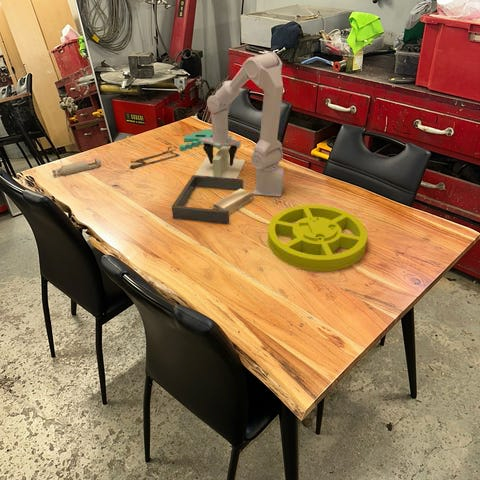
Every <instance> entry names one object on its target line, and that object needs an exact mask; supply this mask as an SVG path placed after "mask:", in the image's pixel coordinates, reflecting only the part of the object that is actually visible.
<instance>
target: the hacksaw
mask: <svg viewBox="0 0 480 480" xmlns="http://www.w3.org/2000/svg"><path fill="white" fill-rule="evenodd" d="M170 148H171V146H168V147H167V150H166V151H162V152H161V153H158V154H154V155H152V156H151V155H150V156H146V157H142V158H139V159H136V160H135V158H134V159H132V160H130V162H131V163H137V164H132V165H130V166H129V169H132V170H135V169H137V168H141V167H145V166H148V165H150V164H154V163H157V162H160V161H164V160H169V159H173V158H176V157H180V154H179V153H177V152H173V151H175V150H177V149H178V147H177V146H174V150H170ZM169 153H170V154H172V156H169V157H165V158H161V159H157V160H153V161H149V162H146V160H149V159H153V158H158V157H160V156H163V155H166V154H169ZM133 160H134V161H133ZM138 163H139V164H138Z"/></svg>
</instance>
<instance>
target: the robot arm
mask: <svg viewBox="0 0 480 480" xmlns="http://www.w3.org/2000/svg"><path fill="white" fill-rule="evenodd" d="M282 68H283V62H282V60H281V58H280V57H279V56H278V54H276V53H275V52H273V51H268V52H266V53H264V54H260V55H256V56H250V57H247V59H246V60H245V61H244V62H242V67H240V69H239V71H238V72H237V73H236V75H234V77H233V79H232V80H225V81H223V82H222V83H221V87H219V89H216V91H215V94H214V95H209V96H208V98H207V101H206V106H207V109H208V111H209V112H210V117H211V119H210V120H211V129H212V137H213V138H202V139H201V145H200V146H203V147H202V149H203V151H204V152H205V154H206V157H208V158H209V161H210V164H212V163H213V160H212V159H213V158H214V157H215V156H214V147H213V145H215V146H219V147H220V146H228V149H229V159H230V166H232V165H233V161H234V159H235V156H236V153H237V150H238V149H240V147H241V144H242V143H241V140H235V139H233V138H232V139H229V138H228V135H229V121H228V120H229V119H228V115H229V113H230V112H229V111H230V108H231V106H232V102H234V101H235V99H236V98H237V97H238V96H239V95H240V91H241V88H242V87H243V86H244V85H245V84H246V83H247V82H248V81H249V80H251V81H252V82H253V84H255V85H256V86H257V87H258V88H259V89H261V90H262V91H263V100H262V113H261V123H260V124H261V125H260V134H259V140H258V142H256V144H255V145H254V147H253V152H252V154H251V156H250V159H251V160H250V161H251V164H252V166H253V167H254V169H256V170H255V173H256V174H255V188H254V190H253V192H252V193H253V196H254V195H257V196H267V197H279V198H280V197H282V193H283V190H284V187H285V182H284V180H285V168H284V167H280V162H281V161H282V160H283V157H284V152H283V150H282V149H283V143H282V142H281V141H279V139H278V136H279V135H278V133H279V125H280V117H281V111H282V110H281V107H282V100H283V91H284V83H283V76H282Z"/></svg>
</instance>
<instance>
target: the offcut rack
mask: <svg viewBox="0 0 480 480" xmlns="http://www.w3.org/2000/svg"><path fill="white" fill-rule="evenodd" d="M196 188H204V189H205V188H206V189H217V190H226V191H237V190H239V189H240V188H241V189H244V179H243V178H237V179H235V178H223V177H211V176H200V175H195V174H193V175H191V177H190V178H189V180H188V181H187V183H186V184H185V186H184V188H183V189H182V190H181V191H180V194H179V195H178V197H177V198H176V199H175V201H174V202H173V204H172V205H171V210H172V211H171V212H172V219H177V220H186V221H187V220H188V221H196V222H197V221H198V222H205V223H206V222H207V223H213V224H214V223H215V224H225V225H226V224H227V225H229V223H230V214H229V211H224V210H214V209H213V208H203V207H195V206H194V207H193V206H185V205H186V204H187V202H188V201H189V199H190V197H191V196H192V194H193V192H194V190H196Z"/></svg>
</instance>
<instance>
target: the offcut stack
mask: <svg viewBox="0 0 480 480" xmlns="http://www.w3.org/2000/svg"><path fill="white" fill-rule="evenodd" d="M254 199H255V196H254V194H253V192H252V191H250V190H246V189H244V188H243V189H241V188H240V189H239V190H237V191H236V190H234V191H233V192H232V193H230V194H228V195H226V196H224V197H223V198H220V199H219V200H217V201H215V202H213V204H212V209H214V210H224V211H229V215H231V214H232V213H234V212H236V211H237V210H238V209H240V208H241V207H243V206H245V205H246V204H248V203H250V202H251V201H253V200H254Z"/></svg>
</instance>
